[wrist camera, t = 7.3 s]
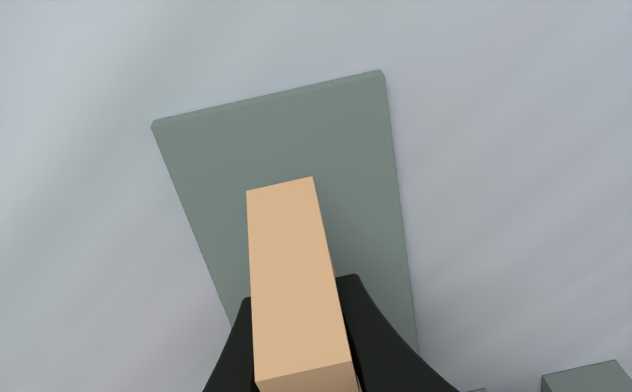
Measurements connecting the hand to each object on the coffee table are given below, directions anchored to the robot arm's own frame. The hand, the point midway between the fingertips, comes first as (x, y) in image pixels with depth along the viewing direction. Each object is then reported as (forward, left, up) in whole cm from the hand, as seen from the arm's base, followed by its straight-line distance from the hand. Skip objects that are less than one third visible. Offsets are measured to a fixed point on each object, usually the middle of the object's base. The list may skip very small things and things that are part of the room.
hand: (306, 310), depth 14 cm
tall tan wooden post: (0, +3, -3) cm, 4 cm away
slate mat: (0, +4, -6) cm, 7 cm away
